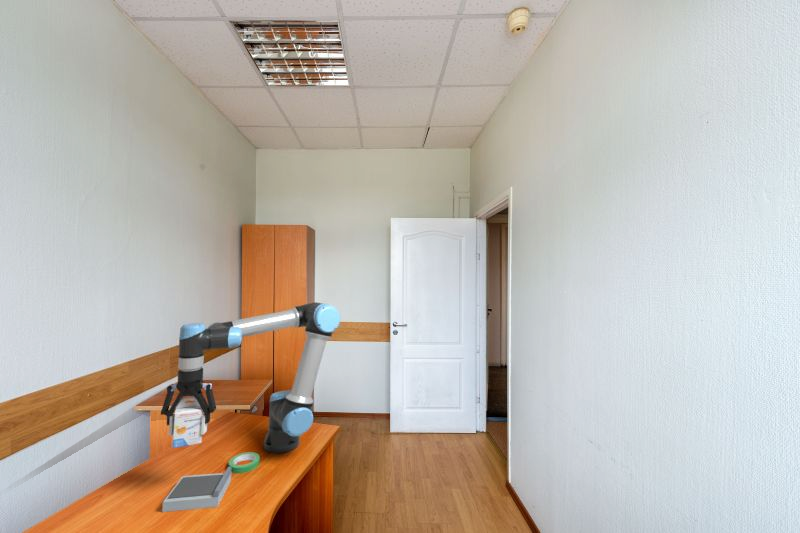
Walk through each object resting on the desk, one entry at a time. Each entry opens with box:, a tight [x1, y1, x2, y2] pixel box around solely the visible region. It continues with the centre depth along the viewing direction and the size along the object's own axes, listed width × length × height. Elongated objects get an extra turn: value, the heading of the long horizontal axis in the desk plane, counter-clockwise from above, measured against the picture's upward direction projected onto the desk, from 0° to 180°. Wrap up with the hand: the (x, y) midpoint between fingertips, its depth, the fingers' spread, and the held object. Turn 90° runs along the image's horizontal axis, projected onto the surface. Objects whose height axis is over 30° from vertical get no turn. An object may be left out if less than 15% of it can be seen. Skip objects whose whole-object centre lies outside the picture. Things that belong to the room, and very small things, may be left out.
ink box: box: [172, 396, 204, 449], centre depth 116 cm, size 8×5×15 cm, turn 121°
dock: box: [161, 467, 232, 513], centre depth 112 cm, size 16×14×5 cm
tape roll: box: [227, 451, 260, 475], centre depth 131 cm, size 11×11×3 cm
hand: (188, 433), depth 115 cm, fingers closed on ink box, 9 cm apart
